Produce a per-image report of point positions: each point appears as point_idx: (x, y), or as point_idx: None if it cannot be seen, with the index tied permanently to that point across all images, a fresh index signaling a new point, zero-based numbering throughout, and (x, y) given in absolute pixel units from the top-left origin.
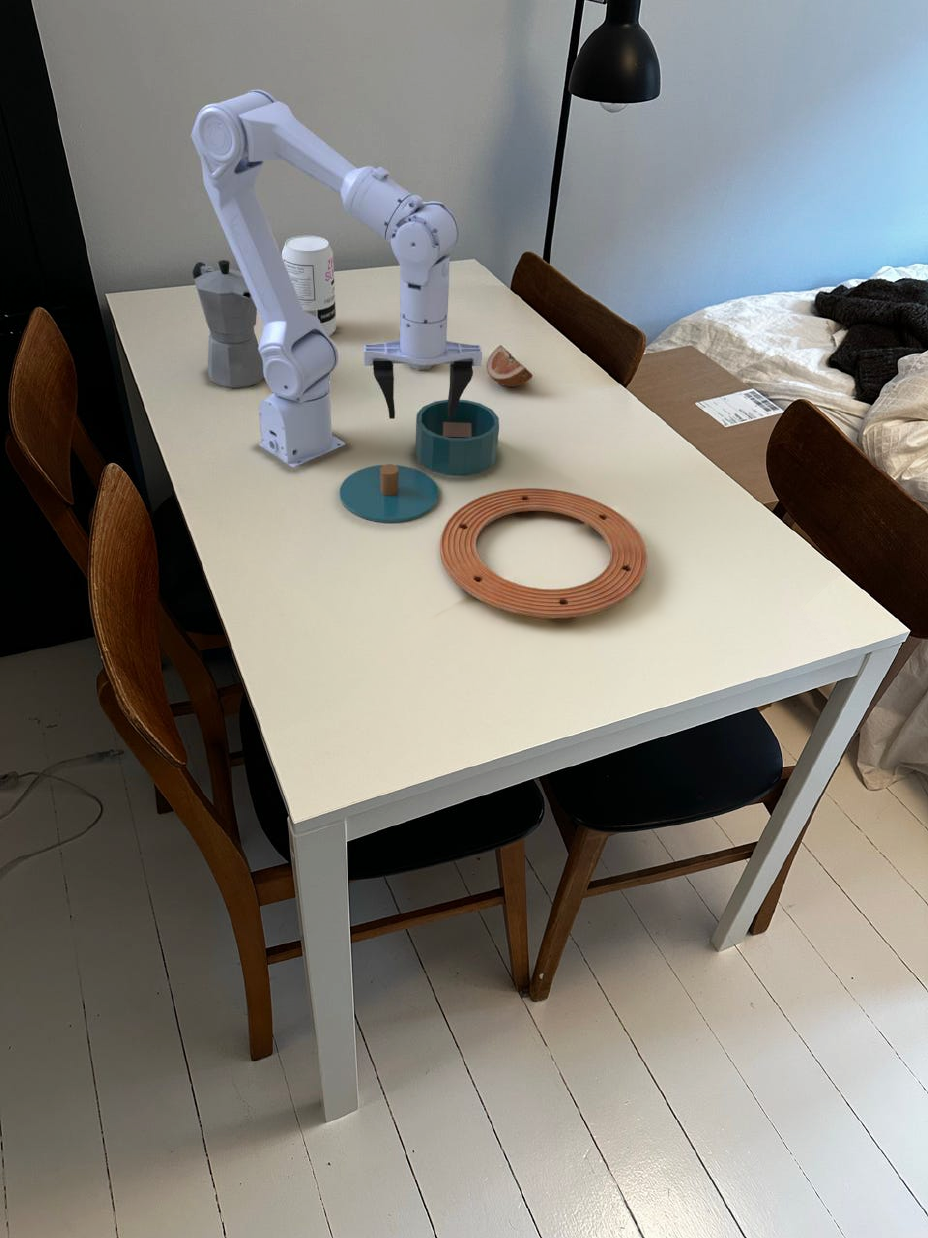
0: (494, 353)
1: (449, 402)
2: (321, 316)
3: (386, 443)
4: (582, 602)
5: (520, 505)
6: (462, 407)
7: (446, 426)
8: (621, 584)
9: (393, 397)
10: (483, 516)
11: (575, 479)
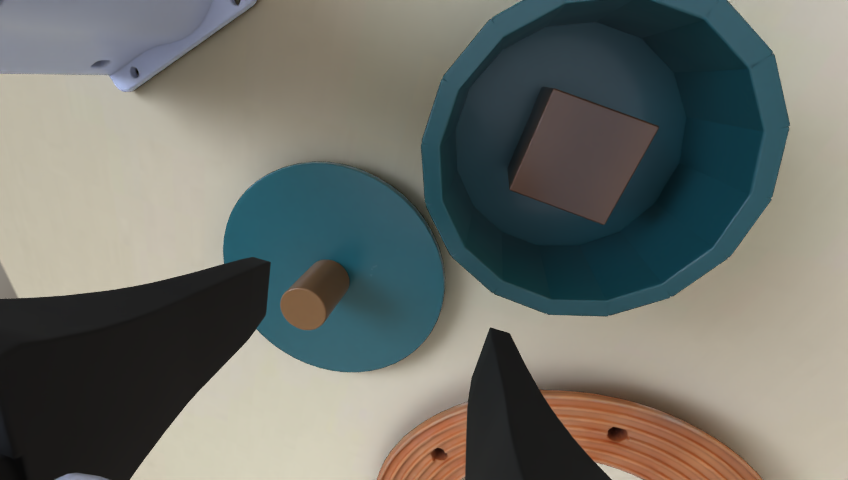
0: None
1: (478, 403)
2: None
3: (383, 4)
4: None
5: (589, 451)
6: (682, 20)
7: (551, 127)
8: None
9: (190, 399)
10: None
11: (833, 344)
